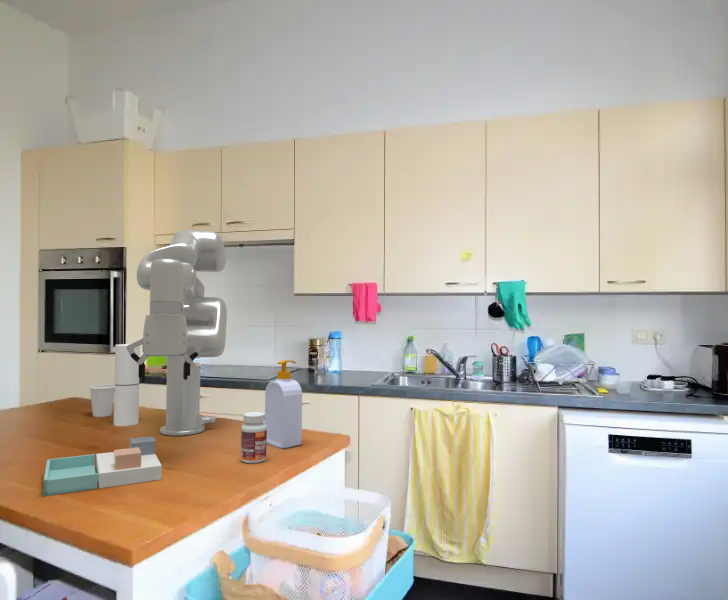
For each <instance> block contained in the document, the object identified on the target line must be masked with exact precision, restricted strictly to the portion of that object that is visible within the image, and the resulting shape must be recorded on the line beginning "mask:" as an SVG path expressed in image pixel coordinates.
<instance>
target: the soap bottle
mask: <svg viewBox="0 0 728 600" xmlns="http://www.w3.org/2000/svg"><path fill="white" fill-rule="evenodd" d="M287 363H293V364H295V365H296V364H297V362H296V361H294V360H290V359H288V360H287V359H286V360H284V359H282V360H280V361H278V362H277V365H281V370H278V371H277V378H276V380H272V381H269V383H267V385H266V388H265V392H264V393H265V394H264V396H265V397H264V399H265V400H264V413H265V421H264V424H265V425H266V426H267V443H266V445H267V444H268V445H270V446H273V447H276V448H279V449H281V450H283V449H287V448H288V449H289V448H292V447H297V446H301V445H302V433H303V431H302V428H303V427H302V425H303V424H302V423H303V390H302V386H301V385H300V383H299V382H298V381H297V380H296V379H292V378H291V370H287Z"/></svg>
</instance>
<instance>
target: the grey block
mask: <svg viewBox="0 0 728 600" xmlns="http://www.w3.org/2000/svg"><path fill="white" fill-rule="evenodd" d="M136 447H139V449H140V451H141V456H142V455H150V454H156V438H154V436H153V435H152V436H143V437H133V438H131V437H130V438H129V448H136Z"/></svg>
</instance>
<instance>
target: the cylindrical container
mask: <svg viewBox="0 0 728 600" xmlns="http://www.w3.org/2000/svg"><path fill="white" fill-rule="evenodd" d="M130 344H131V343H126V344H125V343H121V344H115V348H114V351H115V353H114V354H115V355H114V356H115V357H114V358H115V359H114V385H115V387H114V402H113V426H115V427H129V426H135V425H137V424H139V411H140V410H139V409H140V408H139V407H140V378H138V373H139V364H138V363H137V362H136V361H135V360H134V359H132V358H131V356H130V354H129V352H128V350H127V349H126V347H127V346H128V345H130ZM134 351H135V353H136V354H137V355H138V356H139V357H141V345H140V346H138V347H136V348H134Z"/></svg>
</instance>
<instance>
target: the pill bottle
mask: <svg viewBox="0 0 728 600" xmlns="http://www.w3.org/2000/svg"><path fill="white" fill-rule="evenodd" d="M240 429H241V432H240V433H241V435H240V460H241V461H242V462H244V463H247V464H259V463H263V462H264V461H266V459H267V426H266V425H265V412H262V411H252V412H251V411H249V412H246V413H243V424H242V426H241V428H240Z"/></svg>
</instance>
